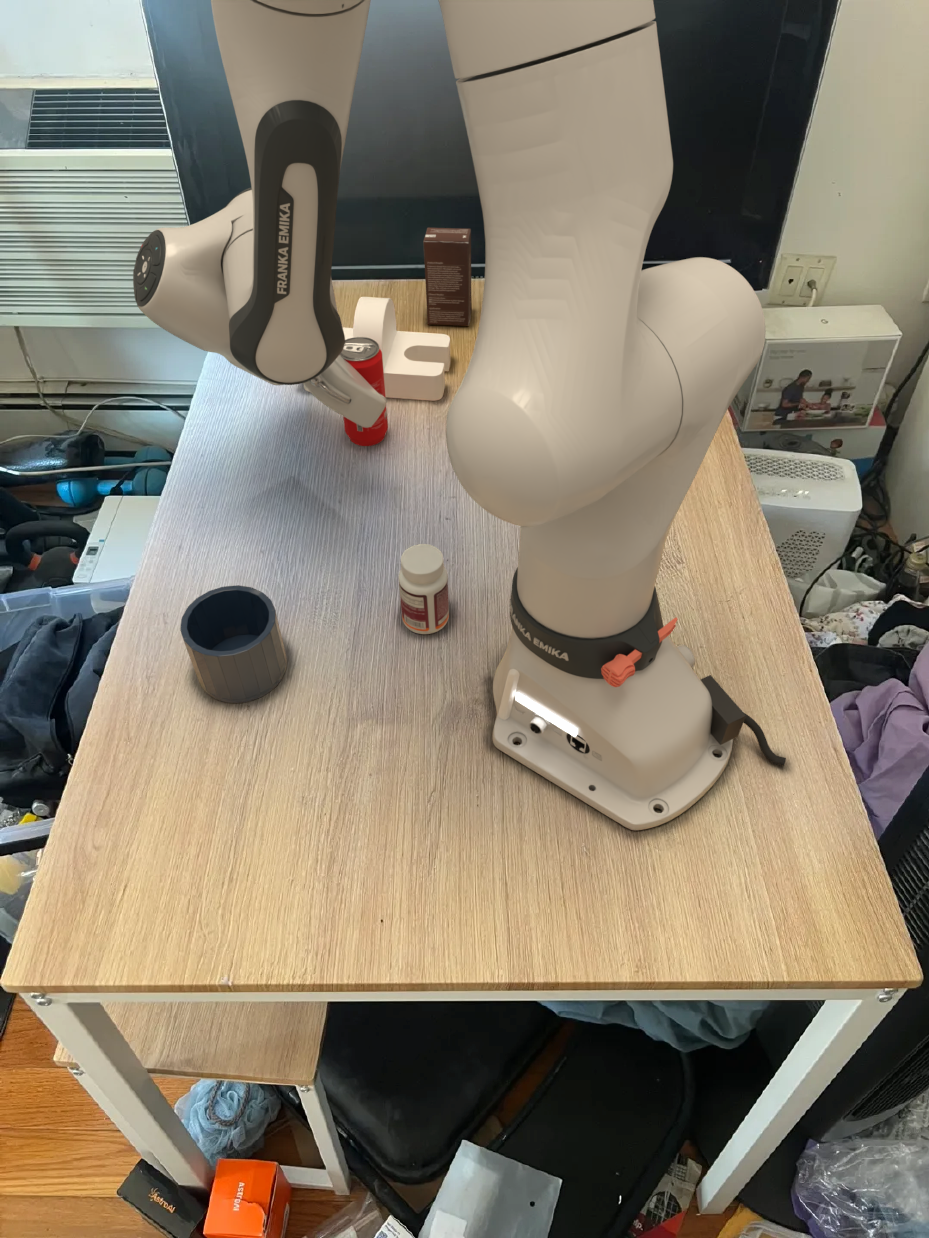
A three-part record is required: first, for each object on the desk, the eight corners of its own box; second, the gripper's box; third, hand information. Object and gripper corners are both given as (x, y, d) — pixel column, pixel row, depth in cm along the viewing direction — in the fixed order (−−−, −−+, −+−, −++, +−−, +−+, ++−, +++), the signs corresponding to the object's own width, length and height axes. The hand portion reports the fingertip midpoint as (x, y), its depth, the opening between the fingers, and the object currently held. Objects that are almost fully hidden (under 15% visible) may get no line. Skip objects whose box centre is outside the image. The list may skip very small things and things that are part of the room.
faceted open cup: (304, 669, 87) (293, 621, 82) (229, 718, 83) (213, 671, 78) (254, 620, 91) (241, 571, 86) (181, 665, 87) (162, 617, 82)
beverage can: (382, 451, 108) (374, 363, 99) (340, 445, 109) (328, 358, 100) (393, 425, 112) (386, 338, 103) (352, 420, 112) (342, 333, 103)
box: (471, 310, 129) (472, 227, 120) (468, 328, 126) (469, 243, 117) (429, 308, 129) (426, 225, 120) (425, 325, 126) (422, 241, 117)
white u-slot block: (441, 401, 115) (439, 328, 107) (302, 391, 116) (290, 319, 109) (451, 358, 121) (450, 287, 113) (319, 349, 123) (309, 278, 115)
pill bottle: (439, 594, 93) (437, 535, 87) (455, 627, 90) (455, 568, 84) (395, 607, 92) (389, 548, 86) (410, 641, 89) (406, 582, 83)
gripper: (339, 362, 88) (429, 412, 99) (253, 272, 100) (342, 326, 111) (304, 415, 90) (396, 459, 101) (223, 321, 102) (314, 370, 112)
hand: (367, 389), depth 106 cm, fingers closed on beverage can, 5 cm apart
